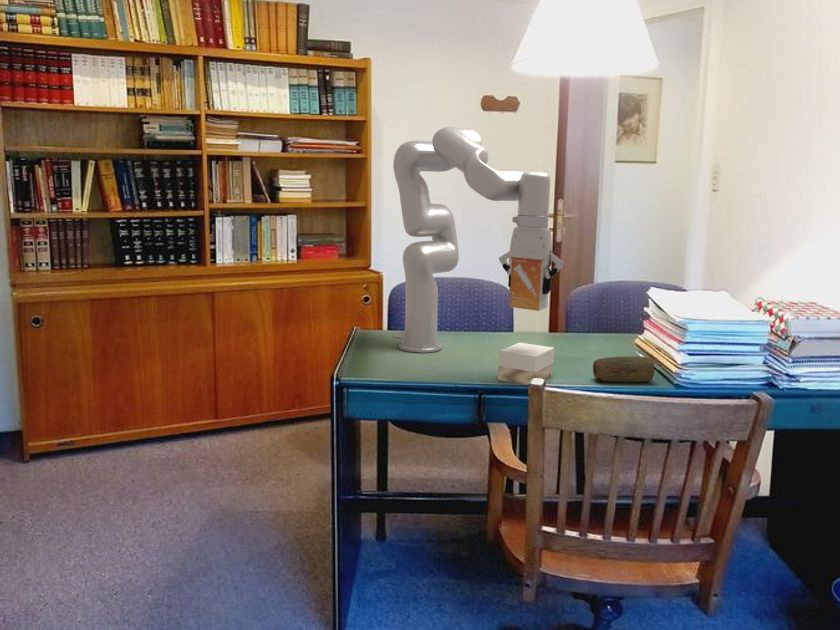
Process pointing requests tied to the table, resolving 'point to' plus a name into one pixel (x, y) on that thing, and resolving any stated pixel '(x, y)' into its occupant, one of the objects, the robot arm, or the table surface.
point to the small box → (527, 284)
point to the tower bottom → (522, 374)
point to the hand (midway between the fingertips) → (529, 291)
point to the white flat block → (526, 357)
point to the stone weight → (624, 369)
